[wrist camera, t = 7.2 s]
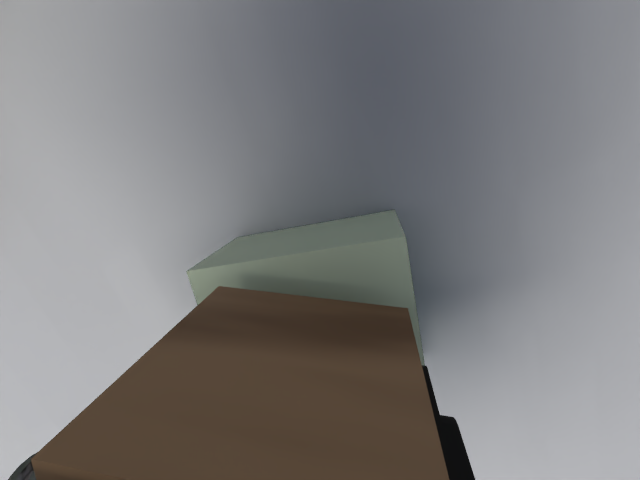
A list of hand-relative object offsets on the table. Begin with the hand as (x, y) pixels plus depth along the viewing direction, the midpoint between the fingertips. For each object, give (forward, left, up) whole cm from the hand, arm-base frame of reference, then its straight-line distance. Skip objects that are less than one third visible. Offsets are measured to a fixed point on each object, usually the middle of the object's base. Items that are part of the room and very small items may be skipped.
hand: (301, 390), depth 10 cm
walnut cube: (0, 0, -1) cm, 1 cm away
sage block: (0, 0, -7) cm, 7 cm away
